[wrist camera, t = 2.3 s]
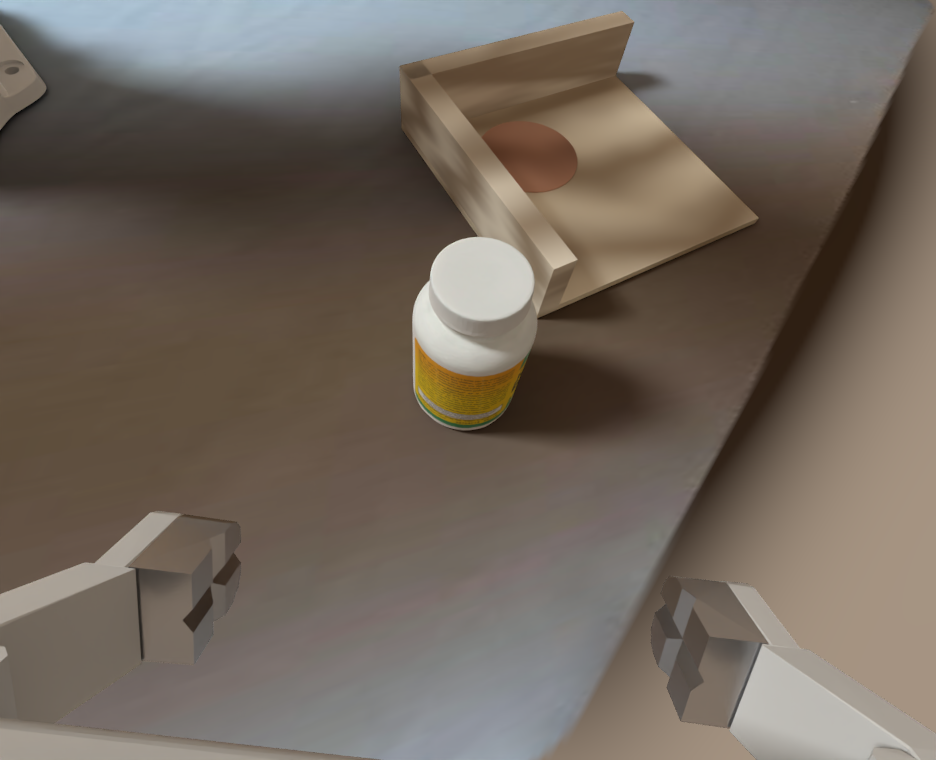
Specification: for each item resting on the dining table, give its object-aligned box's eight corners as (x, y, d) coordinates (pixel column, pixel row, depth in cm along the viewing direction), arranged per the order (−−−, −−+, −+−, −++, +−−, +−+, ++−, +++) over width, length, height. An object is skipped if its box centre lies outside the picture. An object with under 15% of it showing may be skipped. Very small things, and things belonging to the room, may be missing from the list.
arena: (401, 128, 37) (399, 65, 33) (602, 70, 42) (622, 11, 38) (536, 318, 31) (553, 269, 27) (754, 223, 36) (796, 170, 32)
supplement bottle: (409, 348, 29) (406, 223, 21) (503, 341, 30) (538, 218, 21) (418, 439, 27) (418, 340, 18) (520, 429, 27) (566, 330, 19)
